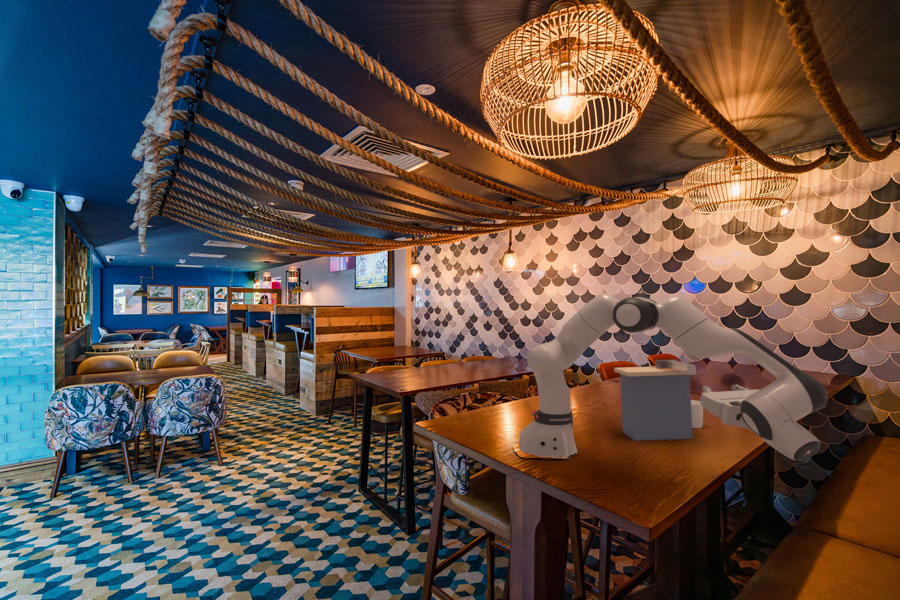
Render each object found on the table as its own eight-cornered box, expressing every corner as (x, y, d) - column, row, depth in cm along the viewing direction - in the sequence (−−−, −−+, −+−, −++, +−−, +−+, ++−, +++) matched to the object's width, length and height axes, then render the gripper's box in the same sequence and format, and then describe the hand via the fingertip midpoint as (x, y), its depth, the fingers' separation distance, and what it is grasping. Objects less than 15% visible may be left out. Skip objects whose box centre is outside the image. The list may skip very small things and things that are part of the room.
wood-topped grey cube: (631, 441, 141) (628, 372, 142) (616, 431, 153) (614, 367, 154) (699, 439, 141) (696, 369, 142) (680, 429, 153) (676, 365, 154)
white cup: (704, 424, 159) (702, 400, 159) (704, 429, 152) (703, 405, 152) (682, 422, 163) (681, 399, 163) (681, 427, 156) (680, 403, 157)
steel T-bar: (680, 374, 134) (680, 365, 134) (655, 367, 150) (655, 360, 150) (702, 373, 134) (702, 365, 134) (675, 367, 150) (675, 359, 150)
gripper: (793, 401, 106) (752, 376, 119) (723, 405, 105) (690, 380, 118) (787, 420, 108) (748, 394, 121) (718, 424, 107) (687, 397, 120)
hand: (719, 387), depth 120 cm, fingers open, 8 cm apart
